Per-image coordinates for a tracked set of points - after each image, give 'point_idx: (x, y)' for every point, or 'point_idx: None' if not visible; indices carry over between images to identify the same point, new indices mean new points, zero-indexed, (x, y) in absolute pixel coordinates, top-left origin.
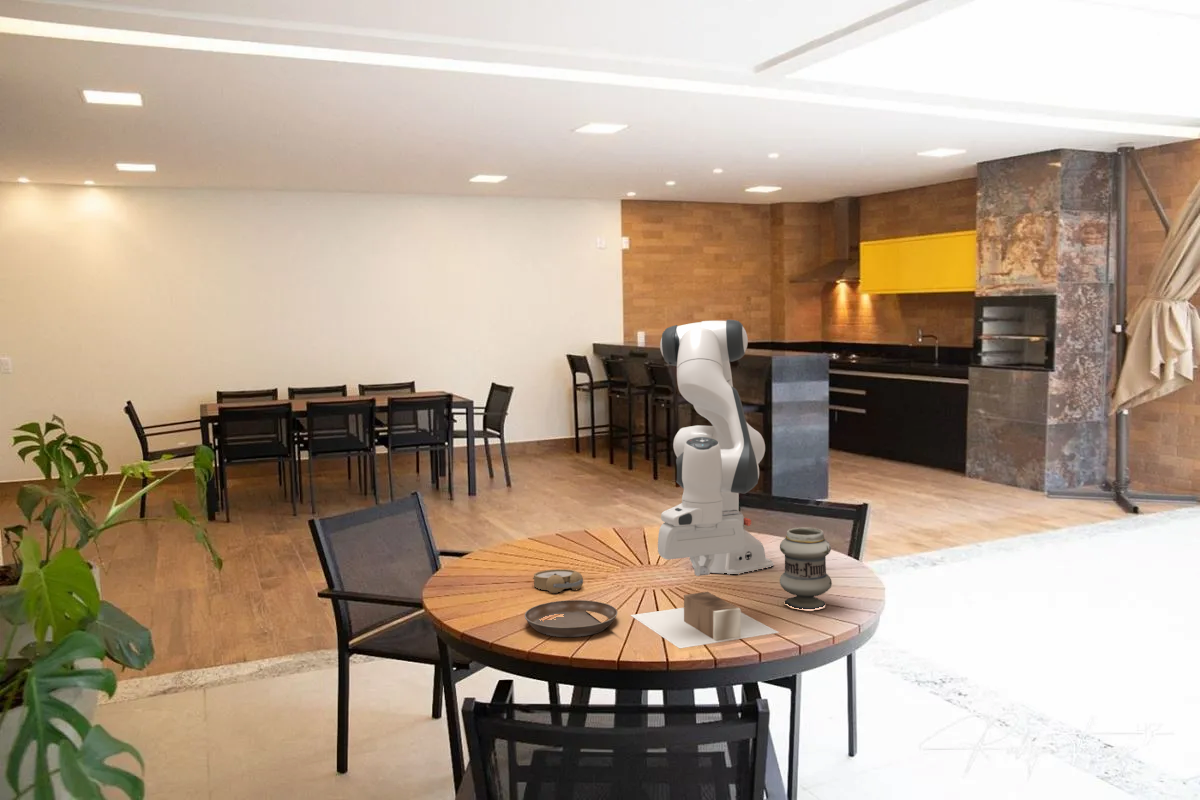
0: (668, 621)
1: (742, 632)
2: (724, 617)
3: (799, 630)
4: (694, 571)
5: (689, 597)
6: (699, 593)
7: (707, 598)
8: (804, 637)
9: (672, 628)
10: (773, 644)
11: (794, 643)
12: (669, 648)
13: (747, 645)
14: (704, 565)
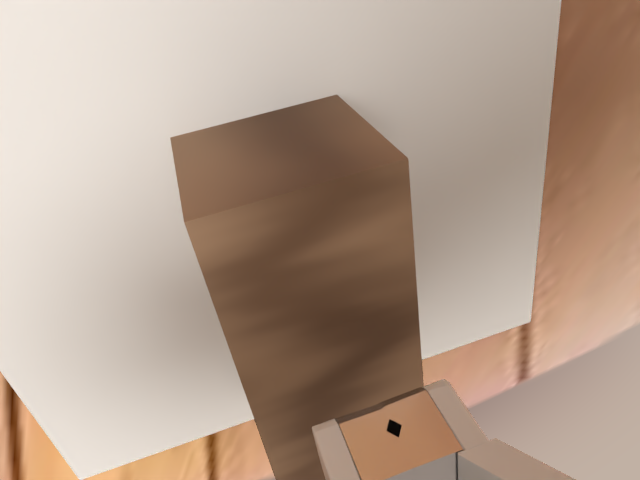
0: (56, 122)
1: None
2: None
3: (620, 260)
4: (318, 449)
5: (215, 289)
6: (327, 197)
7: (338, 313)
8: (584, 324)
9: (72, 253)
10: (456, 381)
11: (521, 372)
12: (36, 434)
13: None
14: (462, 468)
